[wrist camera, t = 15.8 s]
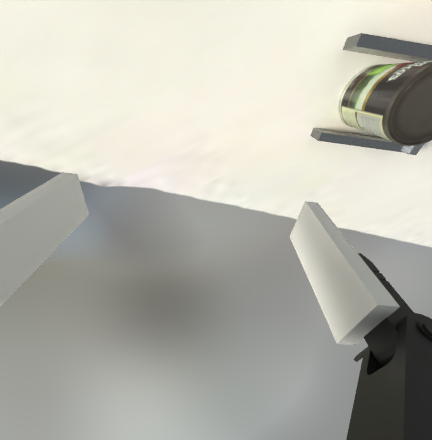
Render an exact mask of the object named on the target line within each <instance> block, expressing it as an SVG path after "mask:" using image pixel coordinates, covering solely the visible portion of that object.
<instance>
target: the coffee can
mask: <svg viewBox="0 0 432 440" xmlns="http://www.w3.org/2000/svg"><path fill="white" fill-rule="evenodd" d="M339 114H340V117H341V119H342V121H343V122H344V123H345V124H346V125H348V126H351V127H355V128H358V129H360V130H363V131H366V132H368V133H371V134H374V135H377V136H379V137H382V138H385V139H387V140H390V141H392V142H393V143H396V144H398V145H401V146H416V145H420V144H424V143H426V142H429V141H431V140H432V61H423V62H412V63H401V64H389V65H374V66H370V67H368V68H366V69H364V70H362V71H361V72H359V73H358V74H357V75H356V76H355V77H354V78H353V79H352V80H351V81H350V82H349V83H348V85H347V86H346V88H345V89H344V91H343V93H342V96H341V99H340V103H339Z"/></svg>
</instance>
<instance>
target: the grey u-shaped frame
mask: <svg viewBox="0 0 432 440" xmlns="http://www.w3.org/2000/svg"><path fill="white" fill-rule="evenodd" d="M343 50H348V51H354V52H360V53H366V54H372V55H378V56H384V57H390V58H396V59H402V60H408V61H414V62H423V61H432V45H426V44H421V43H415V42H409V41H403V40H397V39H392V38H386V37H380V36H374V35H368V34H362V33H361V34H358V35H355V36H352V37H349V38H347V40H346V43H345V46H344V48H343ZM311 136H312V137H313V138H315V139H316V140H318V141H325V142H332V143H339V144H347V145H354V146H361V147H368V148H376V149H383V150H390V151H397V152H405V153H407V154H412V155H416V154H417V153H418V151H419V150H420V148H421V147H422V146H423V144H420V145H416V146H401V145H398V144H396V143H393V142H392V141H390V140H387V139H385V138H379V137H372V136H365V135H358V134H351V133H344V132H337V131H330V130H322V129H315V128H313V131H312V133H311Z"/></svg>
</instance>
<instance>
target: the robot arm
mask: <svg viewBox="0 0 432 440" xmlns="http://www.w3.org/2000/svg"><path fill="white" fill-rule="evenodd" d="M88 216H89V213H88V209H87V206H86V202H85V199H84V196H83V192H82V189H81V186H80V182H79V179H78V175H77V174H72V173H61V174H59V175H58V176H56V177H54V178H53V179H51V180H49V181H48V182H46V183H44V184H42V185H41V186H39V187H37V188H36V189H34V190H32V191H30V192H29V193H27V194H25V195H24V196H22V197H20V198H19V199H17V200H15V201H14V202H12V203H10V204H8V205H7V206H5V207H3V208H2V209H0V306H1V305H2V304H3V303H4V302H5V301H6V300H7V299H8V298H9V297H10V296H11V295H12V294H13V293H14V292H15V291H16V290H17V289H18V288H19V287H20V286H21V285H22V284H23V283H24V282H25V280H26V279H28V278H29V277H30V275H31V274H32V273H33V272H34V271H35V270H36V269H37V268H38V267H39V266H40V265H41V264H42V263H43V262H44V261H45V260H46V259H47V258H48V257H49V256H50V255H51V254H52V253H53V252H54V251H55V250H56V249H57V248H58V247H59V246H60V244H61V243H63V241H64V240H65V239H66V238H67V237H68V236H69V235H70V234H71V233H72V232H73V231H74V230H75V229H76V228H77V227H78V226H79V225H80V224H81V223H82V222H83V221H84V220H85V219H86V218H87V217H88ZM290 239H291V241H292V243H293V245H294V248H295V250H296V252H297V254H298V256H299V259H300V261H301V263H302V266H303V268H304V270H305V272H306V275H307V277H308V279H309V281H310V284H311V286H312V288H313V291H314V293H315V295H316V297H317V300H318V302H319V304H320V306H321V309H322V311H323V313H324V315H325V317H326V320H327V322H328V324H329V327H330V329H331V331H332V333H333V336H334V338H335V340H336V342H337V344H348V345H356V344H357V343H358V342H359V341H360V340H362V339H363V338H364V339H365V340H366V342H367V344H368V347H367V348H366V349H364V350H363V351H362V352H360V353H359V354H358V355H357V356H356V357H355V359H354V360H355V361H356V362H357V361H359V360H360V359H361V358H363V360H362V365H361V370H360V375H359V380H358V385H357V390H356V395H355V400H354V405H353V410H352V414H351V419H350V425H349V429H348V434H347V440H432V319H431V318H429V317H426V316H424V315H422V314H417V313H414V312H413V311H412V310H411V309H410V308H409V306H408V305H407V304H406V303H405V301H404V300H403V299H402V298H401V297H400V295H399V294H398V293H397V292H396V291H395V289H394V288H393V287H392V286H391V285H390V283H389V282H388V281H386V279H385V277H384V276H383V275H382V274H381V273H379V270H378V269H377V268H376V267H375V265H374V264H373V263H372V262H371V261H369V259H367V258H366V257H365V256H363V255H362V254H361V253H357V252H356V251H355V249H354V248H353V247H352V246H351V244H350V243H349V242H348V240H347V239H346V238H345V237H344V236H343V234H342V233H341V232H340V231H339V229H338V228H337V227H336V225H335V224H334V223H333V222H332V220H331V219H330V218H329V217H328V215H327V214H326V213H325V212H324V210H323V209H322V208H321V206H320V205H319V204H318V203H315V202H306V201H305V203H304V205H303V208H302V210H301V212H300V214H299V217H298V219H297V221H296V224H295V226H294V228H293V230H292V233H291V235H290Z"/></svg>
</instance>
